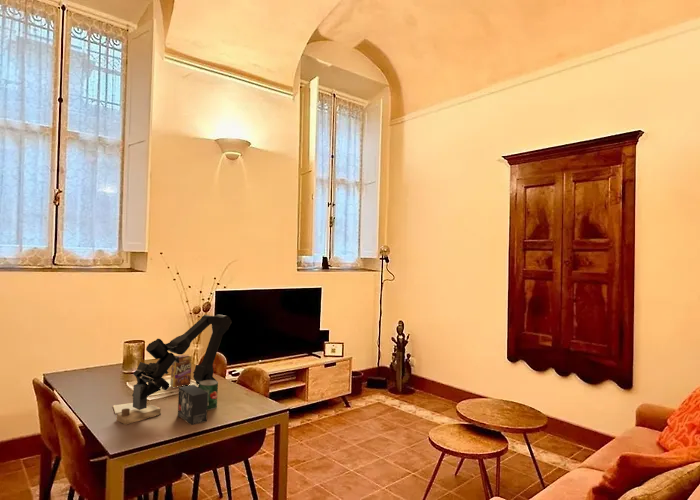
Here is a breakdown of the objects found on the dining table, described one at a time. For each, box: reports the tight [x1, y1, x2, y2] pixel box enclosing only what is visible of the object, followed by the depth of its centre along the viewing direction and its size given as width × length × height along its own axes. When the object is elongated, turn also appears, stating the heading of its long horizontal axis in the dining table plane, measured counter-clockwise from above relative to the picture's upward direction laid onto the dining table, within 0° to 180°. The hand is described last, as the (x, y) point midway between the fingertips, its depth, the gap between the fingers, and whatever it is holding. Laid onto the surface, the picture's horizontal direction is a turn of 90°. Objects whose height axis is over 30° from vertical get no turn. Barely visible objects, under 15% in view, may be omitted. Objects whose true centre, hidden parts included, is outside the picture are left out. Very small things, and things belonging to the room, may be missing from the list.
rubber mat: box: [112, 402, 136, 415], centre depth 196 cm, size 10×10×1 cm
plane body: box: [116, 404, 162, 425], centre depth 187 cm, size 15×6×5 cm, turn 145°
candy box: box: [169, 353, 193, 388], centre depth 229 cm, size 9×4×15 cm, turn 134°
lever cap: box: [132, 383, 148, 410], centre depth 187 cm, size 3×5×9 cm, turn 55°
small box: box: [177, 384, 208, 426], centre depth 188 cm, size 13×7×12 cm, turn 45°
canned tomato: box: [198, 379, 219, 411], centre depth 202 cm, size 8×8×11 cm
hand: (136, 397), depth 185 cm, fingers closed on lever cap, 5 cm apart
